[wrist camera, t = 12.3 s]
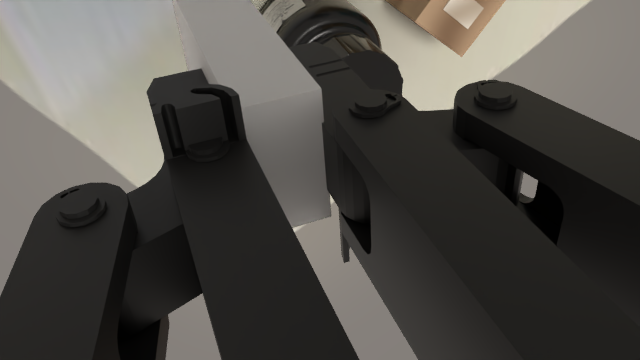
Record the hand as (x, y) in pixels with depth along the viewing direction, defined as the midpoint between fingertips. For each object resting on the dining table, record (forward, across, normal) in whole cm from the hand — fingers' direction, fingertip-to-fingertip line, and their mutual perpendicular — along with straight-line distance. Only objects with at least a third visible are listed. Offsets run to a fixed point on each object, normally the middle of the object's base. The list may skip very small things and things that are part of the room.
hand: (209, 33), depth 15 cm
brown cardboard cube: (+31, +23, -12) cm, 40 cm away
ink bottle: (+31, +12, -14) cm, 36 cm away
